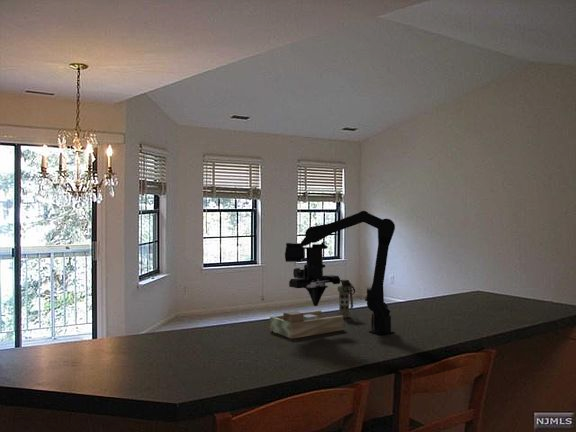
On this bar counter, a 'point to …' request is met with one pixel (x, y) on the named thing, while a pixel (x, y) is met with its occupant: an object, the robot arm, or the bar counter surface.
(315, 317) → the trapped block
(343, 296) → the grenade model
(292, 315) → the walnut block
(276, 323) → the box
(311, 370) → the bar counter surface
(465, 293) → the bar counter surface
